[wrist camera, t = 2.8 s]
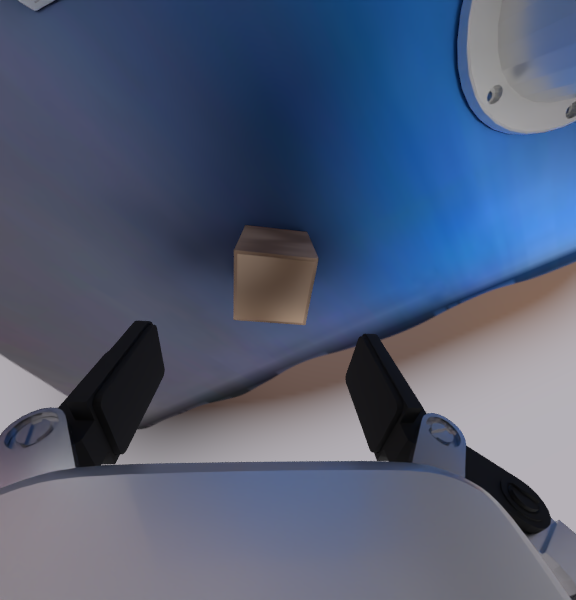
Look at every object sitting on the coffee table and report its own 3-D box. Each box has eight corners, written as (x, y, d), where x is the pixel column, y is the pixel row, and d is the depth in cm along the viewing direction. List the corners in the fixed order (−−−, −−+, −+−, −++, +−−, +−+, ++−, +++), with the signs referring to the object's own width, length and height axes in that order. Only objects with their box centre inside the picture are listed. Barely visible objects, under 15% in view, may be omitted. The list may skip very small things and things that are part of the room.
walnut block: (307, 231, 19) (318, 259, 14) (298, 285, 22) (305, 325, 17) (245, 224, 19) (233, 250, 13) (243, 280, 21) (233, 320, 16)
